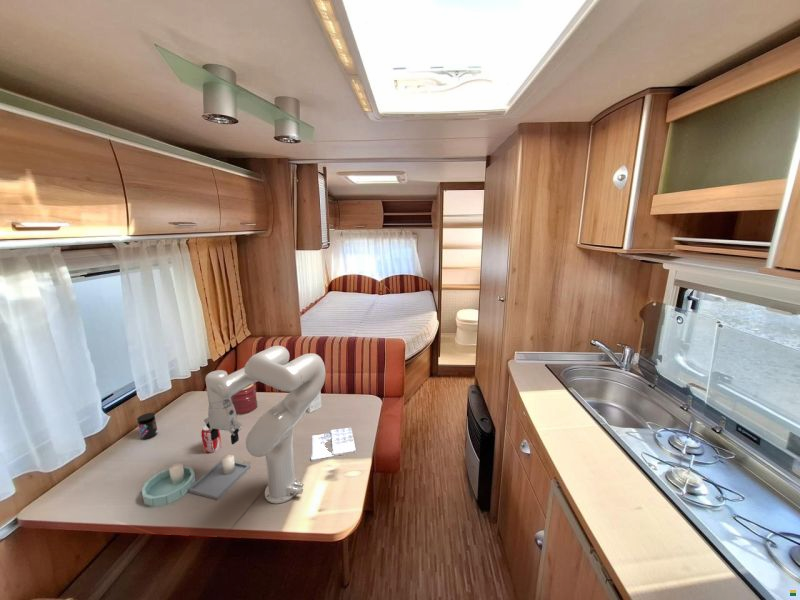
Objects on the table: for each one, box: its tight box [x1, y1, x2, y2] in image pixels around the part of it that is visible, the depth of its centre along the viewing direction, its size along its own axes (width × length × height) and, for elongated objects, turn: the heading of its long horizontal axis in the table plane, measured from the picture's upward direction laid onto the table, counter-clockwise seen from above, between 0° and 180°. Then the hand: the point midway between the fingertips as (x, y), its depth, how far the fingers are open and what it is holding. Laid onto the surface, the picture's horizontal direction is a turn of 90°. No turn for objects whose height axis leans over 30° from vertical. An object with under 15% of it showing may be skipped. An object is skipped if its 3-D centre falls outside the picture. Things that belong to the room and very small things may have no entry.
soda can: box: [200, 424, 222, 454], centre depth 142 cm, size 7×7×12 cm
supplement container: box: [136, 412, 159, 441], centre depth 151 cm, size 7×7×10 cm
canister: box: [230, 383, 258, 415], centre depth 175 cm, size 13×13×18 cm
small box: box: [305, 389, 322, 414], centre depth 176 cm, size 8×6×13 cm
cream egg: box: [169, 462, 185, 485], centre depth 123 cm, size 4×4×6 cm
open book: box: [310, 427, 357, 462], centre depth 147 cm, size 19×20×2 cm
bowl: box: [141, 465, 197, 508], centre depth 120 cm, size 16×16×4 cm
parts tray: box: [187, 459, 251, 501], centre depth 125 cm, size 14×17×2 cm
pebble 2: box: [221, 454, 236, 475], centre depth 129 cm, size 4×4×6 cm
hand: (225, 440), depth 126 cm, fingers open, 9 cm apart
